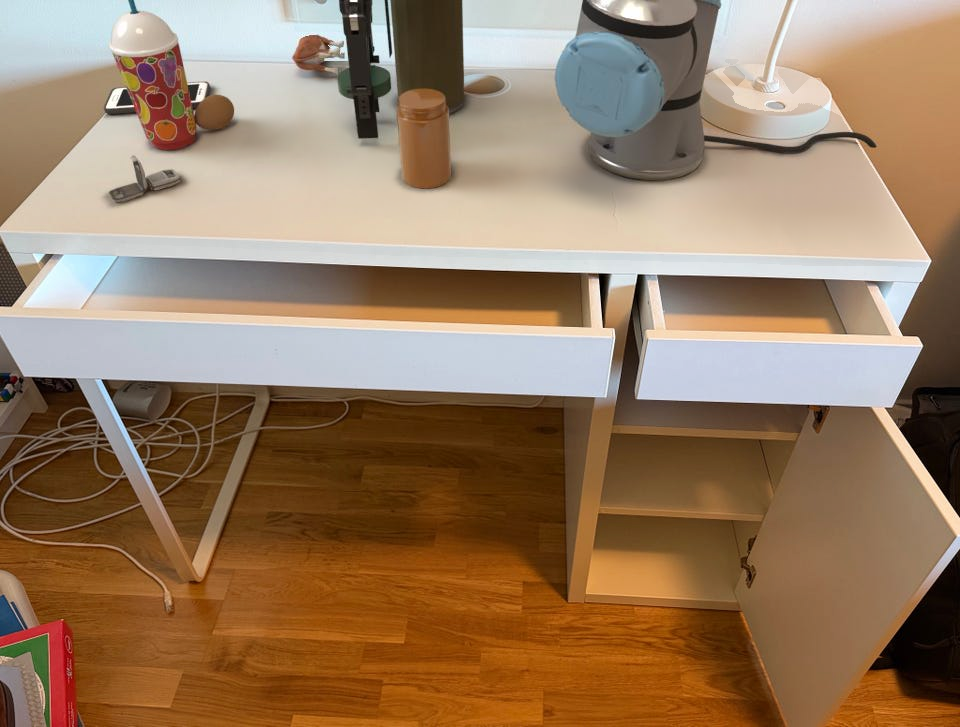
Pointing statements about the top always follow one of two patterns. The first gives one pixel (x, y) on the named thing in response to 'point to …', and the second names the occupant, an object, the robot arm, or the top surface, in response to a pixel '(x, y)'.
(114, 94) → the cell phone
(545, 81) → the top surface
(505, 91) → the top surface
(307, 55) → the bull figurine
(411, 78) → the canister
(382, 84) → the lid
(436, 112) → the jar
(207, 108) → the egg
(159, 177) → the strap clip
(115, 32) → the smoothie
